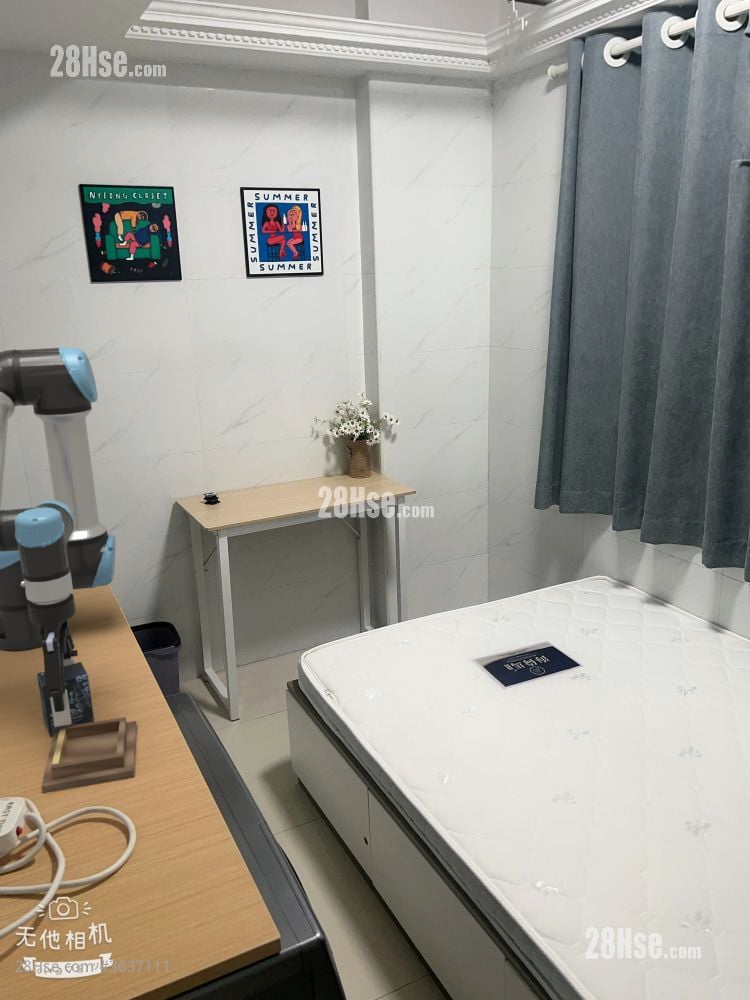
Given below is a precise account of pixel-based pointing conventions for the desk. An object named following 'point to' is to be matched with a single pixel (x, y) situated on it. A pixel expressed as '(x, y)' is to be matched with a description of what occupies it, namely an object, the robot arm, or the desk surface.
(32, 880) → the desk surface
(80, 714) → the box
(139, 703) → the desk surface
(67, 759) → the socket
